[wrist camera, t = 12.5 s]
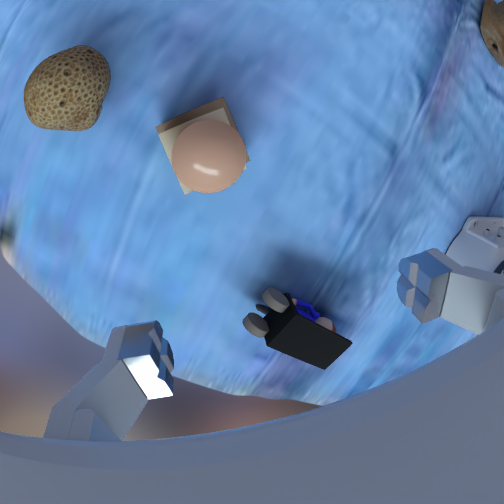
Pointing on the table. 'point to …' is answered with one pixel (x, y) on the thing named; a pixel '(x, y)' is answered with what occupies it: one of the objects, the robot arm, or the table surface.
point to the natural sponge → (67, 89)
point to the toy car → (296, 330)
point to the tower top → (172, 134)
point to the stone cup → (493, 29)
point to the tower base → (197, 113)
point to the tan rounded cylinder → (208, 156)
